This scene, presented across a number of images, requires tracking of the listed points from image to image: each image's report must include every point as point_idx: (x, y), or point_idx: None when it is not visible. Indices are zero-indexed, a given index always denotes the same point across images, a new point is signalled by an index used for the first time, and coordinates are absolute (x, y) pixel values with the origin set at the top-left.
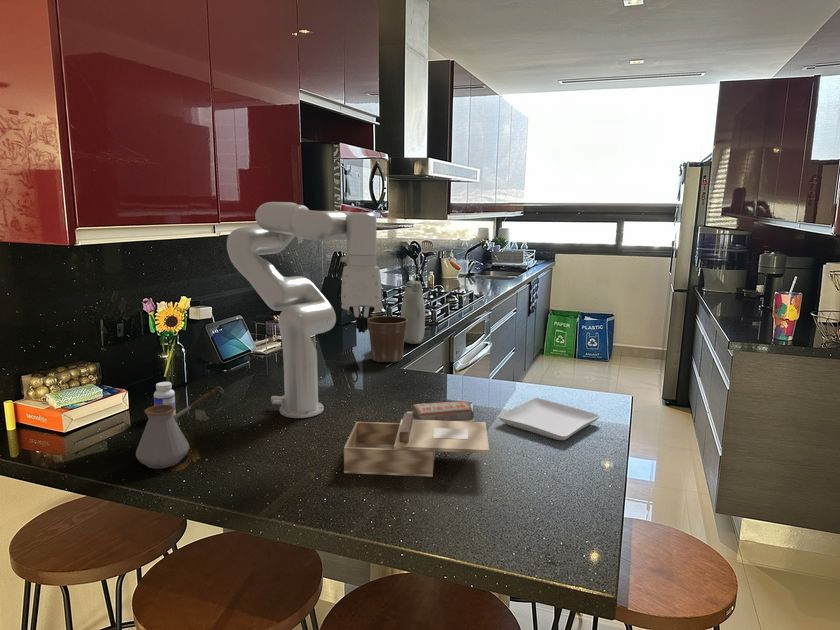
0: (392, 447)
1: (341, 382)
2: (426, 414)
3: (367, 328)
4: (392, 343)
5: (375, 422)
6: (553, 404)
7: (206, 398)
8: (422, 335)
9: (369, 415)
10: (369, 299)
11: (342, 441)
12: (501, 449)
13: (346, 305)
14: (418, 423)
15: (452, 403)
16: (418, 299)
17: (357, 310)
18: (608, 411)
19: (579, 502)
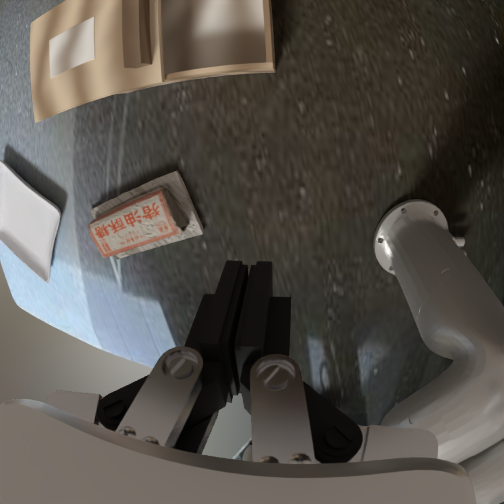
0: (196, 61)
1: (345, 358)
2: (149, 195)
3: (207, 295)
4: None
5: (224, 70)
6: (30, 264)
7: None
8: (245, 452)
9: (278, 224)
10: (34, 483)
11: (308, 83)
12: (49, 120)
13: (410, 458)
14: (124, 70)
15: (116, 243)
16: None
17: (261, 417)
18: (8, 264)
19: (3, 31)
